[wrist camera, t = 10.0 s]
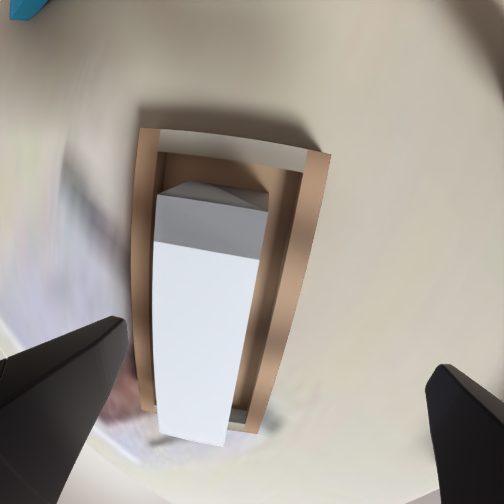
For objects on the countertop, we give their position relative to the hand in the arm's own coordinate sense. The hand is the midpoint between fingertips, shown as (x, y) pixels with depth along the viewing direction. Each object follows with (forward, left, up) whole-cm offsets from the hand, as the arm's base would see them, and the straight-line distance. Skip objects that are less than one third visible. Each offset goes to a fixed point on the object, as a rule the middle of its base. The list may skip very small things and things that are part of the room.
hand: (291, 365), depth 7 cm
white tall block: (+3, +5, -10) cm, 12 cm away
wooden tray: (+3, +5, -11) cm, 13 cm away
